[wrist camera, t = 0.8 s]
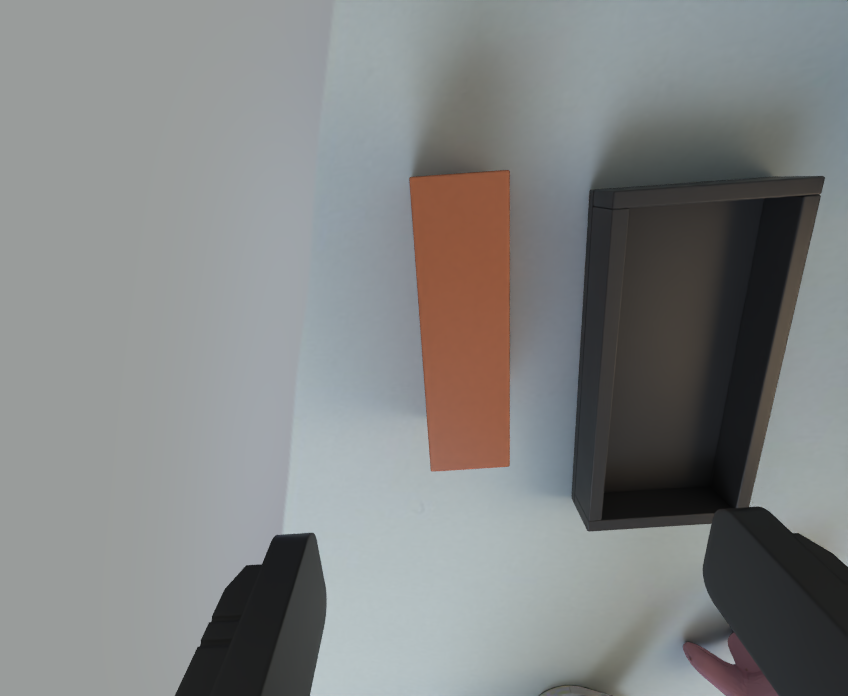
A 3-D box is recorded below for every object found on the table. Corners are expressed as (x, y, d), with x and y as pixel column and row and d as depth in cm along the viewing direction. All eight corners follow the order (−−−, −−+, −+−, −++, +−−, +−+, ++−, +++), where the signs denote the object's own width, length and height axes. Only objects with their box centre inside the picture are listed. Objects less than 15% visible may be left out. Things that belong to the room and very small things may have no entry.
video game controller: (698, 641, 37) (784, 739, 32) (672, 650, 35) (762, 759, 29) (781, 559, 34) (891, 652, 29) (760, 562, 32) (876, 665, 26)
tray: (589, 189, 23) (613, 191, 20) (775, 176, 23) (826, 175, 20) (571, 497, 30) (587, 531, 27) (714, 488, 30) (746, 521, 27)
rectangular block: (410, 177, 23) (409, 176, 18) (489, 172, 23) (509, 169, 18) (428, 418, 28) (431, 472, 23) (492, 413, 28) (509, 467, 23)
